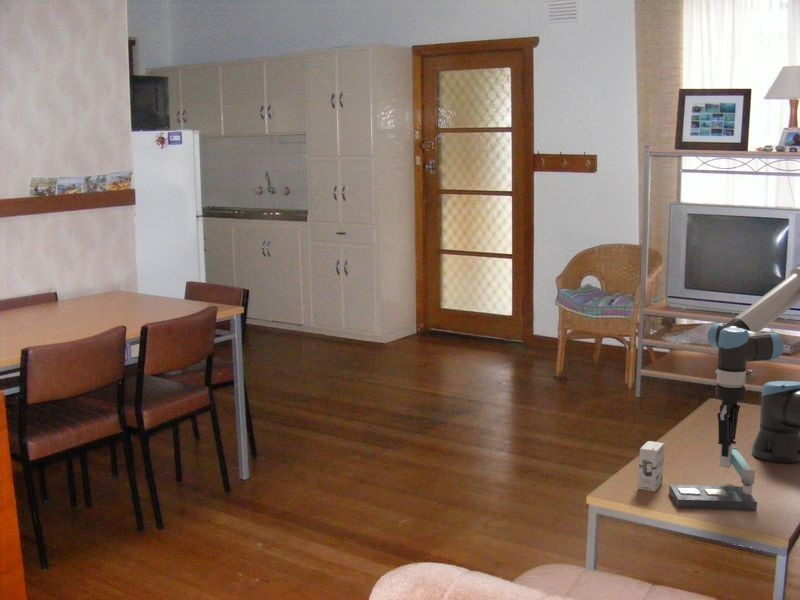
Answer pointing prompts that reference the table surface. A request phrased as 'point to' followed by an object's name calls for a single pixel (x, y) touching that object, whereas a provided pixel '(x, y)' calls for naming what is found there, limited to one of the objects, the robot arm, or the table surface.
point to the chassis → (713, 497)
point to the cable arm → (742, 467)
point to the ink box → (651, 466)
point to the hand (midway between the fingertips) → (725, 466)
